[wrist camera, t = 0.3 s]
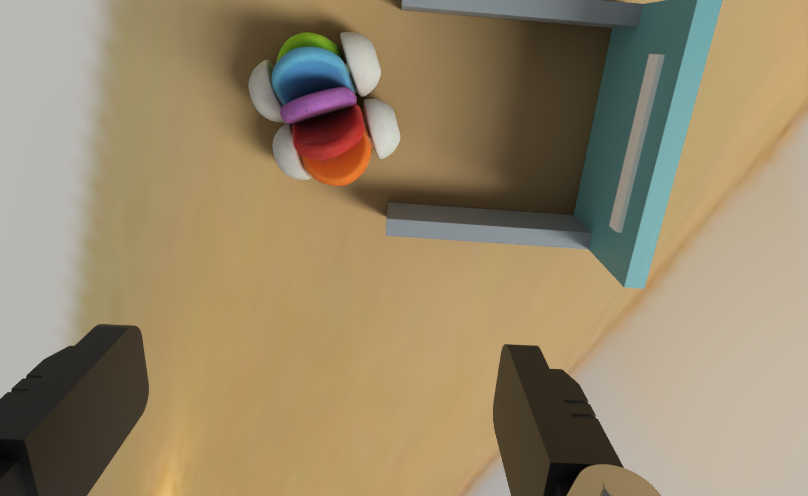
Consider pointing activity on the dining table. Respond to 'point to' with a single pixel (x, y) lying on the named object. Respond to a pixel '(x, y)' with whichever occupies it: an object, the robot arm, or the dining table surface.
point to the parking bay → (599, 133)
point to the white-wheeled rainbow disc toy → (324, 107)
